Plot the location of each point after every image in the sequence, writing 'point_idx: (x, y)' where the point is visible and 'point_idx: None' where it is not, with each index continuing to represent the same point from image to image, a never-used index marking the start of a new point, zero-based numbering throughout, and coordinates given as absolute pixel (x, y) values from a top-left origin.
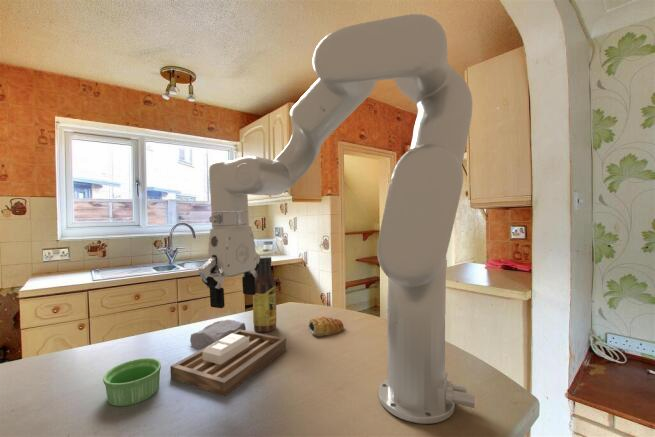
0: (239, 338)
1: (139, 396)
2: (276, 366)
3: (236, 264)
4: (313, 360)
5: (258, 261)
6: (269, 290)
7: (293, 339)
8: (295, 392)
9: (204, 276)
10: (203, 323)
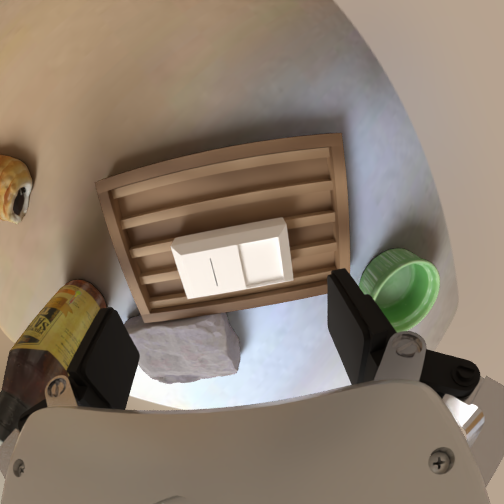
0: (200, 253)
1: (408, 251)
2: (179, 128)
3: (313, 500)
4: (110, 85)
5: (11, 438)
6: (31, 347)
7: (68, 205)
8: (237, 27)
9: (495, 385)
10: (170, 402)
